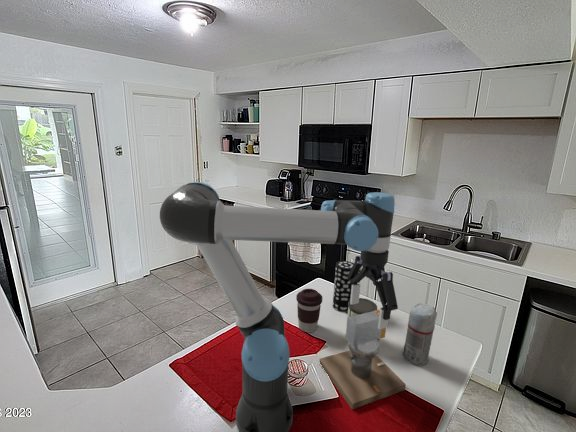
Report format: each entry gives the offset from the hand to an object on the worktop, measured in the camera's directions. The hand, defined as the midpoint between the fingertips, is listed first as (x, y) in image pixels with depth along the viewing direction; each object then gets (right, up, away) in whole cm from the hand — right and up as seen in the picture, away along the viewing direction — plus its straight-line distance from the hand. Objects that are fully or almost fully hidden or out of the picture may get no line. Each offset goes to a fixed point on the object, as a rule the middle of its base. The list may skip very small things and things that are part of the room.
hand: (367, 314), depth 94 cm
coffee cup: (-16, -14, +30) cm, 37 cm away
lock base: (-1, -21, +6) cm, 22 cm away
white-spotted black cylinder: (0, -11, +45) cm, 46 cm away
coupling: (0, -11, +3) cm, 12 cm away
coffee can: (+3, -17, +24) cm, 30 cm away
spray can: (+20, -20, +15) cm, 32 cm away
